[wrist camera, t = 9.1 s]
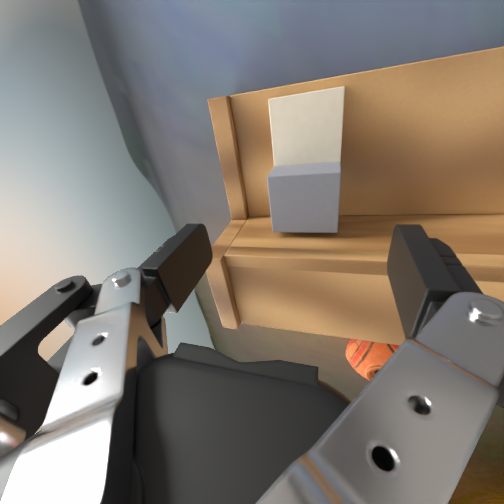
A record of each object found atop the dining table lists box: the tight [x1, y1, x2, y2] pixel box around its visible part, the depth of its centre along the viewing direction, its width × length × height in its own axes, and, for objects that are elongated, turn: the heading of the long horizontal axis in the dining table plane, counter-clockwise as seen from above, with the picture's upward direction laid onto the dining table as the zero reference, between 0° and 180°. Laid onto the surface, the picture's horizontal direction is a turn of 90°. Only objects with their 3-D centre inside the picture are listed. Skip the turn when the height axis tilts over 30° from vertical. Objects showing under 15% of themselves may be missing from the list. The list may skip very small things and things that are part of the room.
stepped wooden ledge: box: [206, 46, 504, 345], centre depth 16 cm, size 16×23×11 cm
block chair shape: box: [267, 86, 345, 233], centre depth 15 cm, size 8×4×4 cm, turn 9°
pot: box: [346, 339, 400, 381], centre depth 27 cm, size 8×8×7 cm
